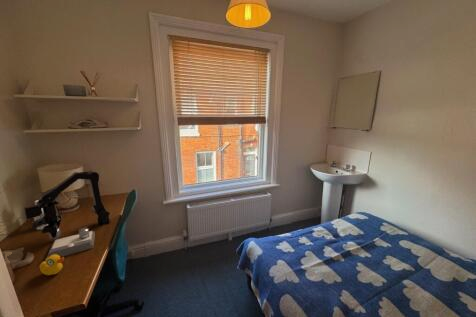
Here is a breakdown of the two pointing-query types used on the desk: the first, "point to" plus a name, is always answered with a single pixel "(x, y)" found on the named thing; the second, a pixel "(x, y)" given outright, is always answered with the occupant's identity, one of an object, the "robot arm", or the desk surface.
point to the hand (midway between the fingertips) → (55, 235)
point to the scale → (71, 245)
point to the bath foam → (39, 217)
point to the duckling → (52, 265)
